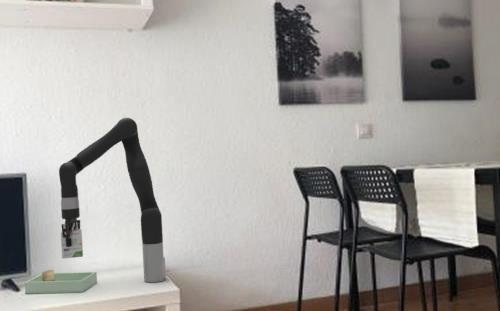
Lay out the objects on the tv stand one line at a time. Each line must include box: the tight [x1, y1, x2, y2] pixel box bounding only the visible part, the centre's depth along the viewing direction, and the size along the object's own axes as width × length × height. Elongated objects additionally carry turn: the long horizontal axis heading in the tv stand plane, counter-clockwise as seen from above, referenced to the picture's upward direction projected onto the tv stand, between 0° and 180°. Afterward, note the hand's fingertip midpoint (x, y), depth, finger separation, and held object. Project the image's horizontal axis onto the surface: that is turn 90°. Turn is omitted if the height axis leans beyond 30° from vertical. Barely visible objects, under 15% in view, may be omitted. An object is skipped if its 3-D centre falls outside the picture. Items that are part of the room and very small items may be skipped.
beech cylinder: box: [41, 269, 55, 281], centre depth 226 cm, size 5×5×7 cm
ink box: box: [60, 228, 84, 259], centre depth 225 cm, size 8×5×12 cm, turn 105°
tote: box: [24, 271, 98, 295], centre depth 225 cm, size 26×16×5 cm, turn 85°
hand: (72, 245), depth 225 cm, fingers closed on ink box, 6 cm apart
